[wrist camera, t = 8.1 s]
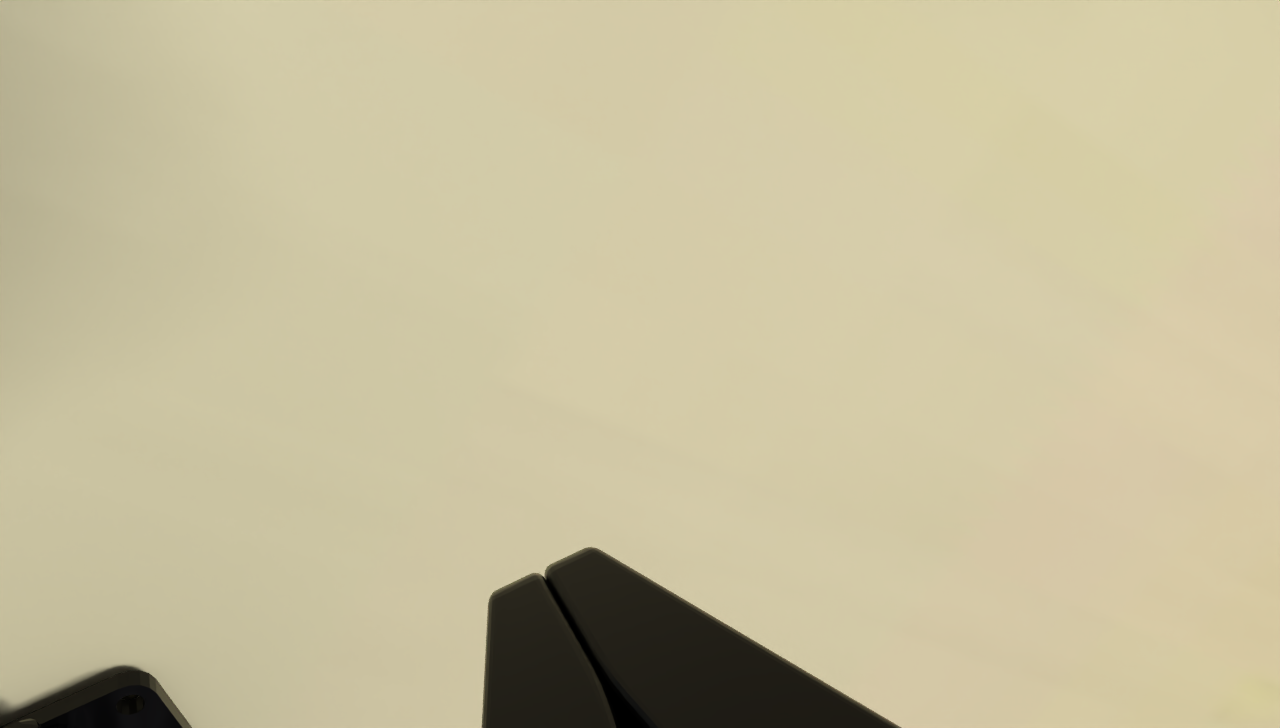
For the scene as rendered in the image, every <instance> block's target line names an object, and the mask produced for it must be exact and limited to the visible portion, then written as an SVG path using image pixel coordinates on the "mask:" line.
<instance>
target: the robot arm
mask: <svg viewBox="0 0 1280 728" xmlns="http://www.w3.org/2000/svg"><path fill="white" fill-rule="evenodd" d="M544 577H545V578H544ZM544 577H543V576H542V575H541V574H539V573H532V574H530V575H527V576H525V577H523V578H521V579H519V580H517V581H515V582H513V583H511V584H509V585H507V586H504V587H502V588H500V589H498V590H496V591H495V592H493V593H492V595H491V596H490V599H489V603H488V617H487V636H486V656H485V675H484V695H483V714H482V728H901V727H899V726H898V725H896V724H894V723H893V722H891V721H889V720H887V719H886V718H884V717H882V716H881V715H879V714H877V713H876V712H874V711H872V710H871V709H869V708H867V707H865V706H864V705H862V704H860V703H859V702H857V701H855V700H854V699H852V698H850V697H849V696H847V695H845V694H843V693H842V692H840V691H838V690H837V689H835V688H833V687H832V686H830V685H828V684H826V683H825V682H823V681H821V680H820V679H818V678H816V677H815V676H813V675H811V674H810V673H808V672H806V671H804V670H803V669H801V668H799V667H798V666H796V665H794V664H793V663H791V662H789V661H788V660H786V659H784V658H782V657H781V656H779V655H777V654H776V653H774V652H772V651H771V650H769V649H767V648H765V647H764V646H762V645H760V644H759V643H757V642H755V641H754V640H752V639H750V638H749V637H747V636H745V635H743V634H742V633H740V632H738V631H737V630H735V629H733V628H732V627H730V626H728V625H727V624H725V623H723V622H721V621H720V620H718V619H716V618H715V617H713V616H711V615H710V614H708V613H706V612H705V611H703V610H701V609H699V608H698V607H696V606H694V605H693V604H691V603H689V602H688V601H686V600H684V599H682V598H681V597H679V596H677V595H676V594H674V593H672V592H671V591H669V590H667V589H666V588H664V587H662V586H660V585H659V584H657V583H655V582H654V581H652V580H650V579H649V578H647V577H645V576H644V575H642V574H640V573H638V572H637V571H635V570H633V569H632V568H630V567H628V566H627V565H625V564H623V563H621V562H620V561H618V560H616V559H615V558H613V557H611V556H610V555H608V554H606V553H605V552H603V551H601V550H599V549H597V548H593V547H588V548H584V549H582V550H580V551H578V552H576V553H574V554H572V555H570V556H568V557H565V558H563V559H561V560H559V561H557V562H555V563H553V564H551V565H549V566H548V567H547V569H546V570H545V576H544ZM129 695H139V697H137V698H135V699H131V700H123V699H122V698H123V697H125V696H129ZM0 728H192V727H191V726H190V724H189V723H188V722H187V720H186V719H185V718H184V716H183V715H182V714H181V712H180V711H179V709H178V708H177V707H176V705H175V704H174V703H173V701H172V700H171V699H170V697H169V696H168V695H167V693H166V692H165V691H164V689H163V688H162V687H161V685H160V684H159V683H158V681H157V680H156V678H154V677H153V676H152V675H151V674H149V673H146V672H143V671H127V672H123V673H120V674H117V675H115V676H113V677H110V678H108V679H106V680H104V681H101V682H99V683H97V684H95V685H93V686H90V687H88V688H86V689H84V690H82V691H79V692H77V693H75V694H73V695H70V696H68V697H66V698H64V699H62V700H59V701H57V702H55V703H53V704H51V705H48V706H46V707H44V708H42V709H39V710H37V711H35V712H33V713H31V714H28V715H26V716H24V717H22V718H20V719H17V720H15V721H13V722H11V723H8V724H6V725H4V726H2V727H0Z"/></svg>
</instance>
